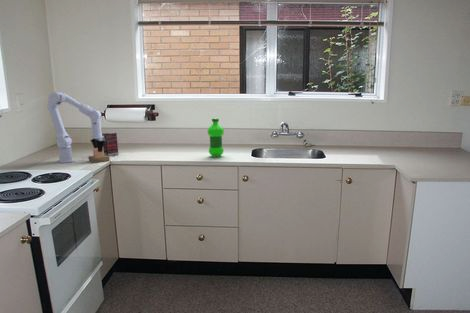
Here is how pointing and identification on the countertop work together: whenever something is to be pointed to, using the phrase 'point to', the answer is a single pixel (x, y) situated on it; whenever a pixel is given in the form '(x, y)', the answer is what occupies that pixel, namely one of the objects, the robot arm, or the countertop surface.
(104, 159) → the walnut base
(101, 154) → the terracotta cube
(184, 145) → the countertop surface
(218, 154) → the plastic bottle
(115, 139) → the supplement box
